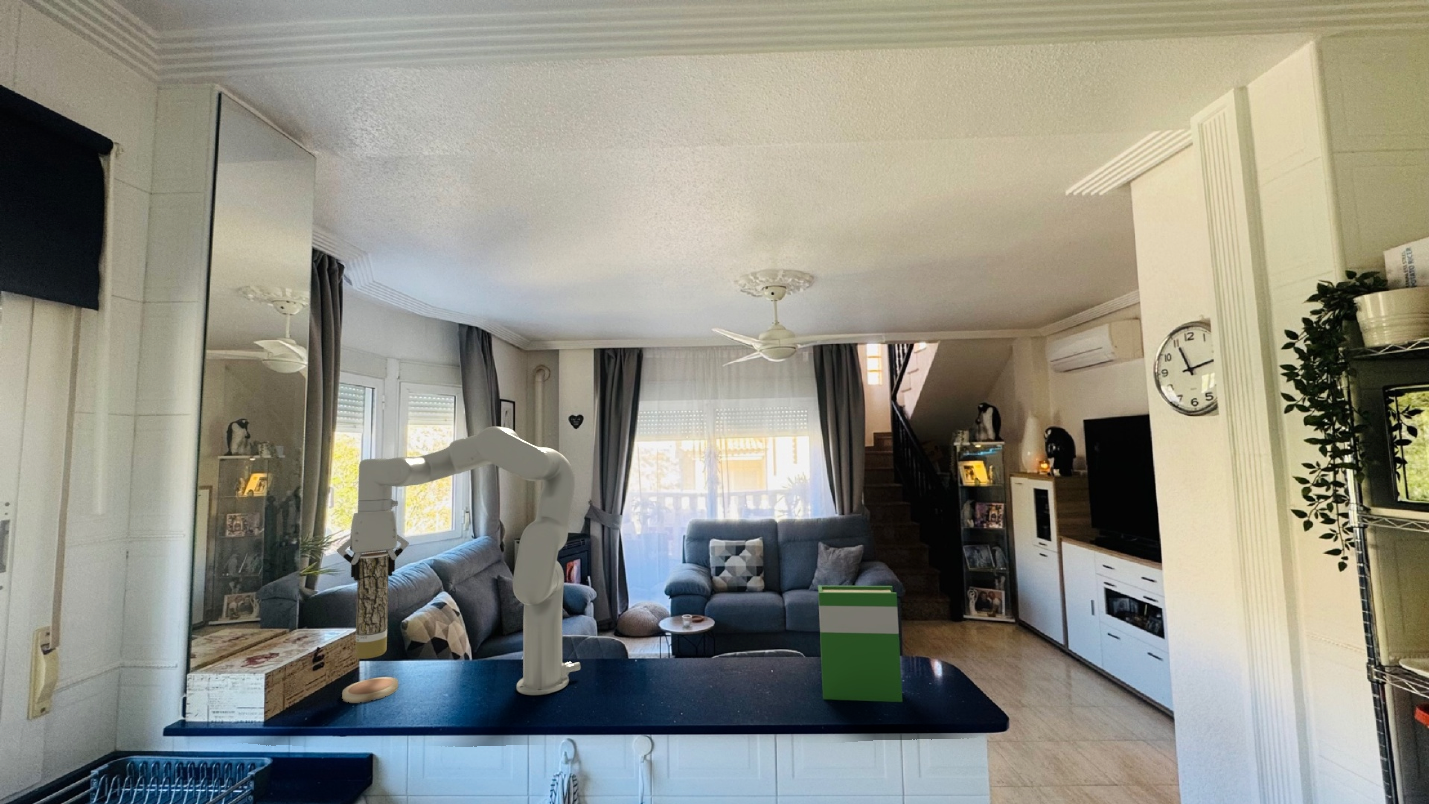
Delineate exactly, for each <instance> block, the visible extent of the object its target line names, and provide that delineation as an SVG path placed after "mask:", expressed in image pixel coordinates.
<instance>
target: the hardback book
mask: <svg viewBox="0 0 1429 804" xmlns="http://www.w3.org/2000/svg"><path fill="white" fill-rule="evenodd" d="M817 590H818V613H819V615H818V616H819V617H818V618H819V634H820V640H819V641H820V661H821V663H820V664H821V681H822V684H821V685H822V700H833V701H834V700H835V701H836V700H837V701H860V702H861V701H865V702H866V701H869V702H891V703H893V702H894V703H895V702H896V703H903V688H902V687H903V685H902V669H901V668H902V667H901V652H900V651H901V649H900V635H899V633H900V632H899V631H900V630H899V629H900V628H899V617H898V613H899V611H898V596H897V592H893V591H894V590H893V585H817Z"/></svg>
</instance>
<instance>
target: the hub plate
mask: <svg viewBox="0 0 1429 804" xmlns="http://www.w3.org/2000/svg"><path fill="white" fill-rule="evenodd" d="M398 689H399V679H397V678H395V677H390V676H383V677H373V678H368V679H363V680H361V681H358V682H355V683H351V684H350V685H348V686H346V687H344V689H343V690H342V693H341V694H342V697H341V699H343V700H342V701H343V702H345V703H348V702H349V703H350V704H360V702H362V703H367V702H368V703H369V702H372V701H371V700H373V701H375V700H374V699H377V700H380V699H383V698H386V697H388V696H391V695H392V694H394V693H395V692H397V690H398ZM385 696H386V697H385Z"/></svg>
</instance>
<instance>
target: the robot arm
mask: <svg viewBox="0 0 1429 804" xmlns="http://www.w3.org/2000/svg"><path fill="white" fill-rule="evenodd" d="M489 465H494V466H496V467H499V468H500V469H502V470H505V472H506V471H507V472H508V473H510V474H512V475H514V476H516V477H518V478H520V479H522V480H526V481H530V482H538V481H541V483H542V487H541V491H540V495H539V499H538V503H537V504H538V505H537V509H536V510H537V512H536V515H535V518H534V521H532V522H530V523H528V525H527V526H526V527H525V529H523V532H522V535H521V536H520V538H519V539H520V540H519V543H518V549H517V550H518V551H517V554H516V559H515V560H516V562H515V565H514V566H515V567H514V571H513V577H512V590H513V593H514V596H515V597H516V599H517V600H518V601H519V602H520V603H521V604H523V615H522V616H523V618H522V619H523V620H522V621H523V622H522V623H523V624H522V625H523V627H522V629H523V630H522V631H523V632H522V635H523V636H522V637H523V641H522V642H523V643H522V645H523V646H522V648H523V649H522V650H523V651H522V652H523V654H522V656H523V658H522V659H523V660H522V663H523V665H522V667H523V668H522V671H523V673H522V675H523V677H522V678H520V679H519V680H518V682H517V683H516V691H517V692H518V693H520V694H522V695H527V696H543V695H548V694H552V693H555V692H558V691H560V690H562V689H564V688H565V687H566V686H568V684H569V681H570V679H569V674H570V673H571V672H576V671H580V670H581V663H580V662H579V661H578V662H574V663H572V662H571V661H569V662H568V661H567V662H563V600H564V599H563V597H564V587H565V586H564V585H565V575H564V570H563V567H562V565H561V564H560V562H559V561H558V555H559V551H560V550H561V549H563V547H565V545H566V544H567V540H568V535H569V528H570V520H571V516H572V508H573V502H574V494H575V488H576V478H575V473H574V470H573V469H574V468H573V466H572V465H571V463H570V461H569V460H568V458H566V457H565V455H563V454H562V453H560V452H559V451H557V450H555V449H553V448H549V447H546V446H545V447H544V446H536V445H533V444H531V443H529V442H527V441H525V440H523V439H522V438H520V437H519V435H518V434H517V432H516V431H515V430H513V429H512V428H508V427H504V426H488V427H486V428H483V429H482V430H480V432H479V433H478V434H474V435H471V436H467V437H463V438H459V439H455V440H453V441H452V442H451V443H450V444H449V446H448V447H445V448H443V449H441V450H438V451H435V452H431V453H428V454H423V455H420V456H399V457H393V458H366V459H362V460H361V461H360V462H359V466H358V482H357V483H358V488H357V489H358V491H357V512H354V513H353V515H352V520H351V527H350V528H351V529H350V535H349V539H347V540H346V541H345V542H344V543H343V544H342V545H340V546H339V547H338V548H337V549H336V552H337V554H339V555H340V556H341V557H342V558H343V559H345V561H347V562H349V564H351V565H350V578H353V580H354V581H355V582H357V581H358V580H359V564H358V559H359V558H360V556H361V554H364V553H370V552H388V553H389V571H388V577H392V576H393V573H395V571H396V560H397V559H398V557H399V556H400V555H401V554H402V553H404V552H403V551H404V550H405V549H406V548H407V547H409V545H410V543H409V541H408V540H406V539H404V538H403V537H401V535H399V534H398V532H397V530H398V529H397V520H396V513H395V510H393V508H394V507H398V505H399V501H398V500H393V487H397V488H399V487H400V488H401V487H402V488H403V487H409V486H410V487H411V486H418V485H419V486H420V485H423V484H427V483H431V482H434V481H438V480H441V479H445V478H448V477H451V476H455V475H457V474H463V473H465V472H469V471H471V470H475V469H478V468H481V467H484V466H489ZM398 543H400V545H399V547H397V546H398ZM348 548H349V549H350V551H351V552H353V554H352V555H350V554H349V553H347V552H346V550H347V549H348ZM395 548H396V549H395ZM394 549H395V550H394Z"/></svg>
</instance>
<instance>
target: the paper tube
mask: <svg viewBox="0 0 1429 804" xmlns="http://www.w3.org/2000/svg"><path fill="white" fill-rule="evenodd" d="M358 564H359V580H358V581H356V582H357V583H356V586H357V587H356V615H355V616H356V617H355V618H356V620H355V625H356V626H355V655H354V656H355V657H356V658H357V659H362V660H363V659H364V660H365V659H372V658H377V657H380V656H382V655H384V654H385V653H387V644H388V643H387V642H388V613H389V611H388V610H389V607H388V606H389V604H388V603H389V602H388V601H389V576H388V571H389V553H388V552H386V551H378V552H369V553H362V554H361V556H360V558H359V559H358Z"/></svg>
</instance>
